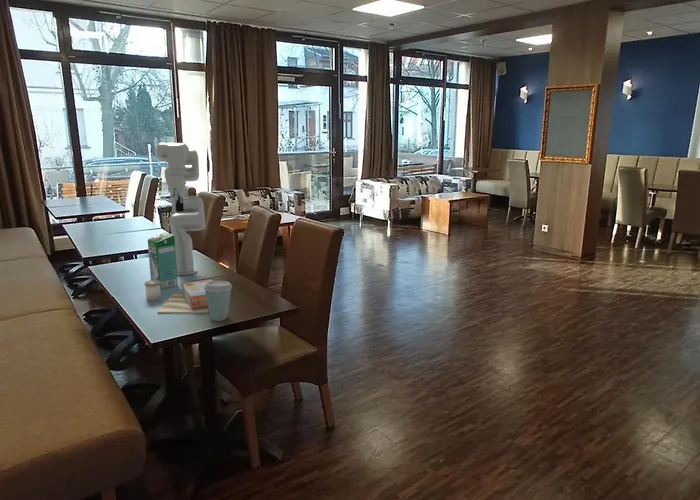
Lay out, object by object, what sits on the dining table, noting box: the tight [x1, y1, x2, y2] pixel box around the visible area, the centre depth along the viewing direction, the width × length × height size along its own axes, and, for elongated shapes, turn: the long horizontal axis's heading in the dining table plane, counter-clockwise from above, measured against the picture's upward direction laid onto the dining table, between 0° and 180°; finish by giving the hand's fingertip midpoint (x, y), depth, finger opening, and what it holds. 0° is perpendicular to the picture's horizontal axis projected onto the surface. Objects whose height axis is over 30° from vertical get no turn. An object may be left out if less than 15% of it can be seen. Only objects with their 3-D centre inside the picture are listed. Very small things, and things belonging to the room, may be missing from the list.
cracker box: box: [180, 278, 215, 309], centre depth 216 cm, size 14×6×21 cm
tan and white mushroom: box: [144, 279, 162, 302], centre depth 217 cm, size 7×7×8 cm
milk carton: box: [147, 232, 179, 290], centre depth 234 cm, size 9×9×25 cm
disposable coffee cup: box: [204, 280, 233, 322], centre depth 195 cm, size 11×11×15 cm
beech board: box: [157, 293, 209, 314], centre depth 213 cm, size 23×20×1 cm
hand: (179, 211), depth 230 cm, fingers closed
